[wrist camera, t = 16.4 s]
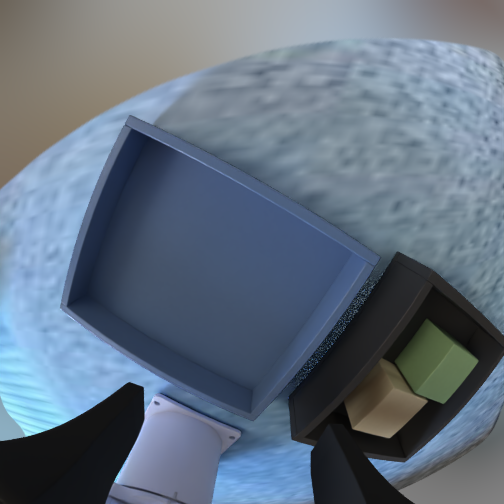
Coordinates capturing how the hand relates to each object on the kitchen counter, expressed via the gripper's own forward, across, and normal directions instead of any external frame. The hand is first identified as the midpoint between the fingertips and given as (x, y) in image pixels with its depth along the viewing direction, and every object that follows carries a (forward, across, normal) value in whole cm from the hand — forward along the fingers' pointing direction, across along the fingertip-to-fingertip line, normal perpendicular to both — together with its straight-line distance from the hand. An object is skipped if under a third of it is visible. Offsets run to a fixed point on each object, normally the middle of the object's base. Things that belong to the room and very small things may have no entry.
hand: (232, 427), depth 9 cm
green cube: (+8, -14, 0) cm, 16 cm away
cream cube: (+8, -10, +3) cm, 14 cm away
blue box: (+9, +3, -3) cm, 10 cm away
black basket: (+9, -12, +1) cm, 15 cm away
